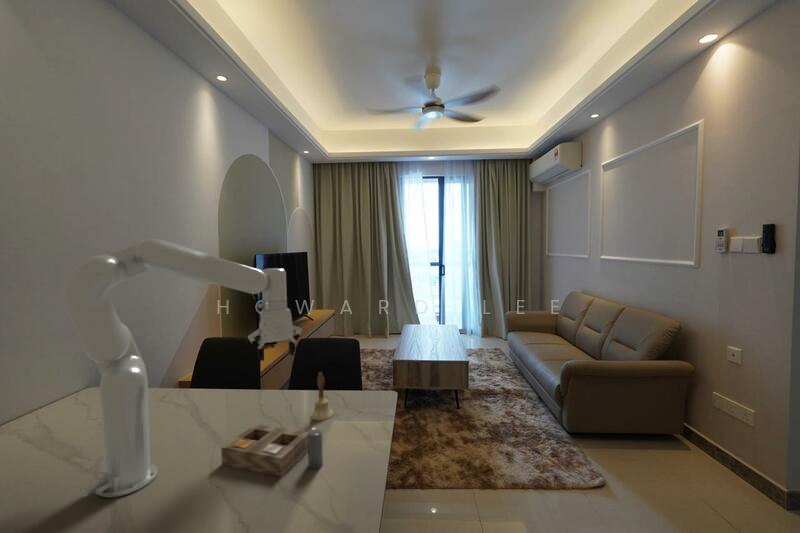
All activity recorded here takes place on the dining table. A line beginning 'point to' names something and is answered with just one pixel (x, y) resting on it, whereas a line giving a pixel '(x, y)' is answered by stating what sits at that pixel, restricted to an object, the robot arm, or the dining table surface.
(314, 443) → the plug
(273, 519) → the dining table surface
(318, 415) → the hand bell
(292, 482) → the dining table surface
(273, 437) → the socket block
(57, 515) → the dining table surface
